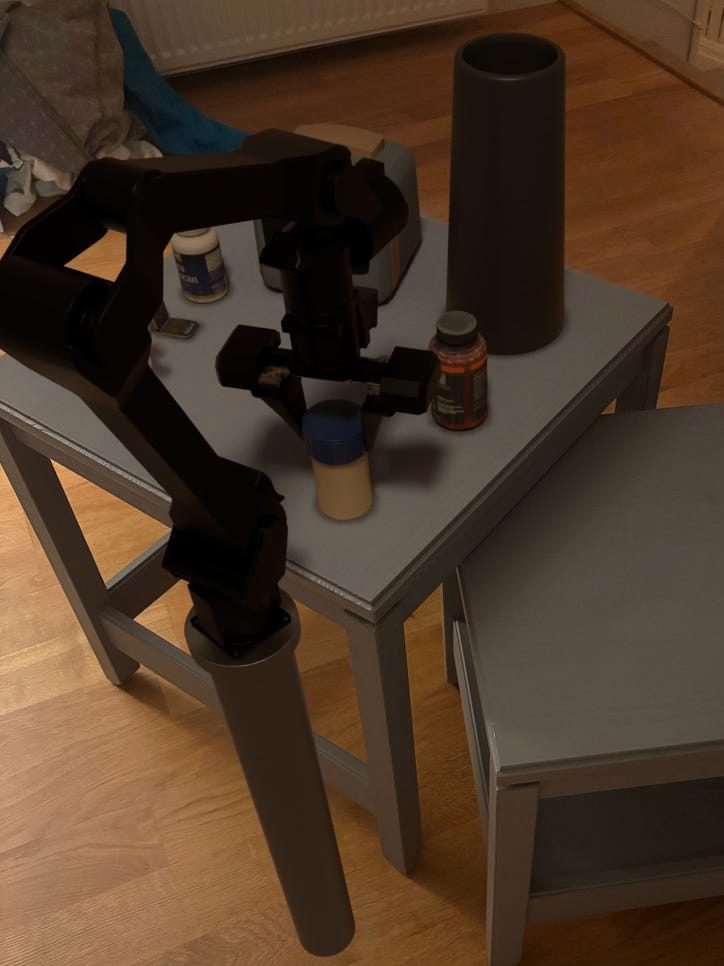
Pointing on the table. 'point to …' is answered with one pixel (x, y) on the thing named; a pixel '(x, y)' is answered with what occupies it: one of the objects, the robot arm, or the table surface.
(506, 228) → the vase
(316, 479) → the jar
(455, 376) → the supplement bottle
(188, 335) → the strap clip
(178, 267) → the pill bottle
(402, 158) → the alarm clock
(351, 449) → the jar lid
